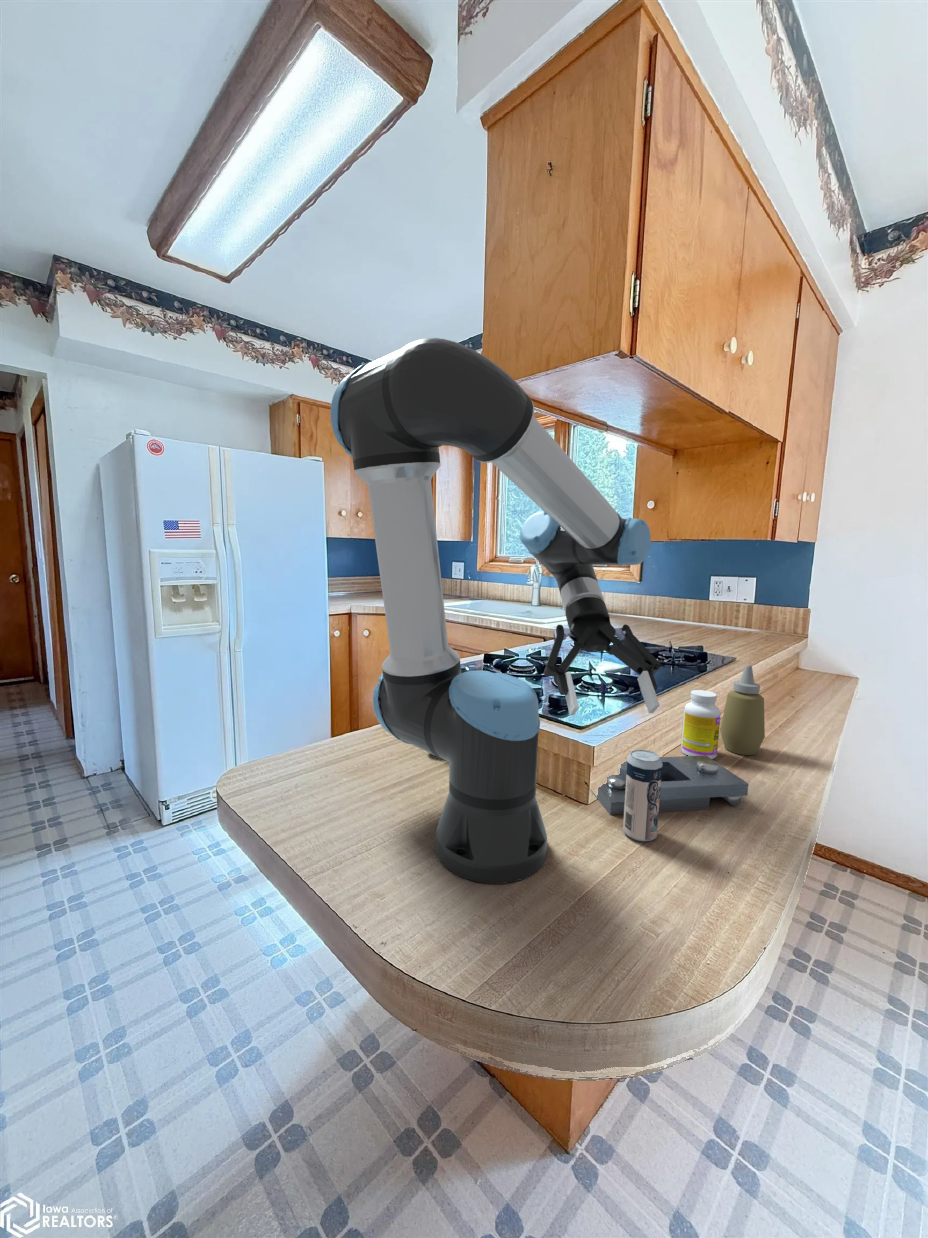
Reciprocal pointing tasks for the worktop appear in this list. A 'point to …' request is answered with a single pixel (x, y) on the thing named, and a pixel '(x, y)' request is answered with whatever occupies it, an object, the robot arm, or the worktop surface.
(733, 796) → the right chain end
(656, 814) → the beer can
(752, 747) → the squeeze bottle
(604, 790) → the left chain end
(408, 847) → the worktop surface
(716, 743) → the supplement bottle
